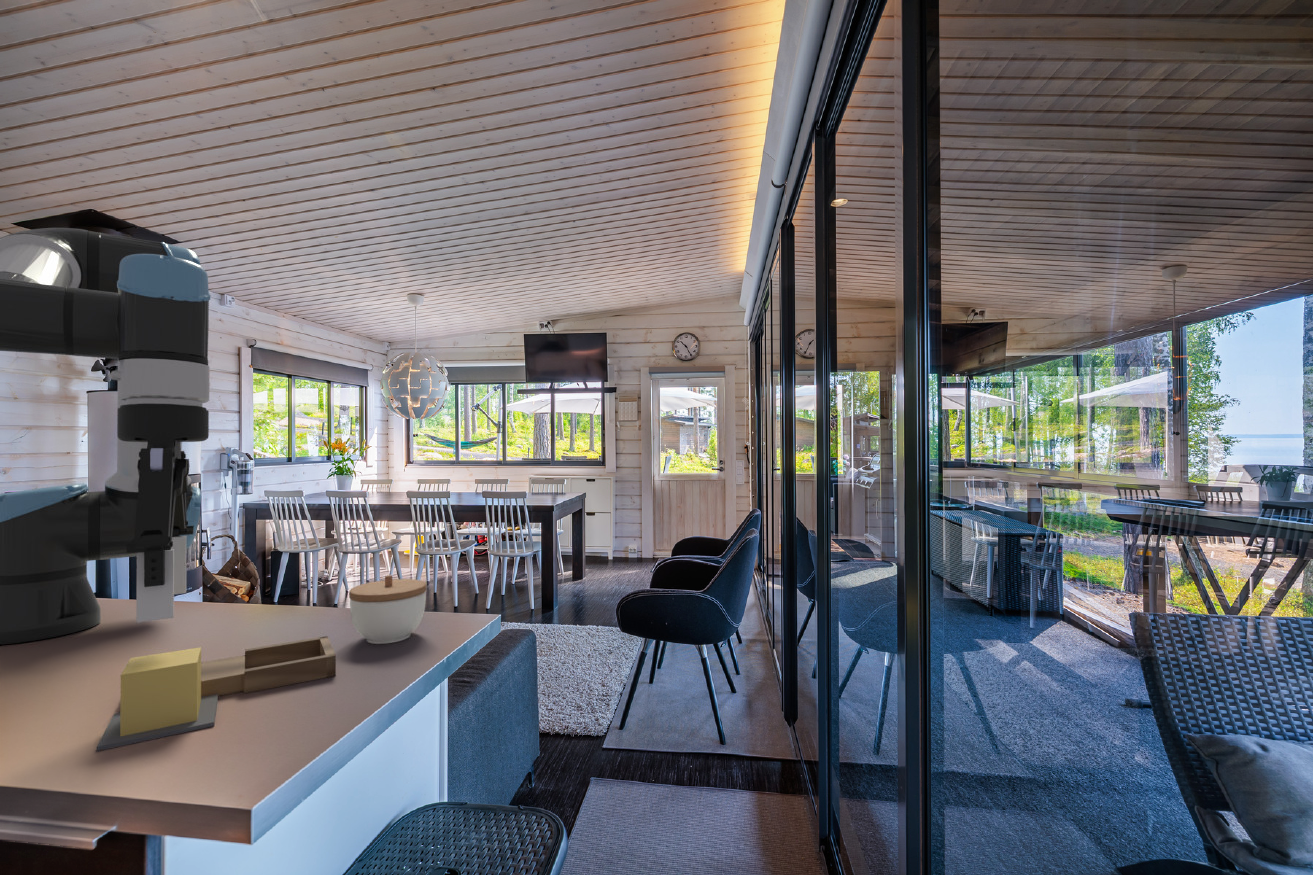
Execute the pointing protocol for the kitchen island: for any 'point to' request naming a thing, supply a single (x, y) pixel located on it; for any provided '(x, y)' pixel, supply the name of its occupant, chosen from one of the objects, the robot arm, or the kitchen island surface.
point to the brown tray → (269, 667)
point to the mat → (204, 720)
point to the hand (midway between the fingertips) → (163, 606)
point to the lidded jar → (387, 609)
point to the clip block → (160, 691)
